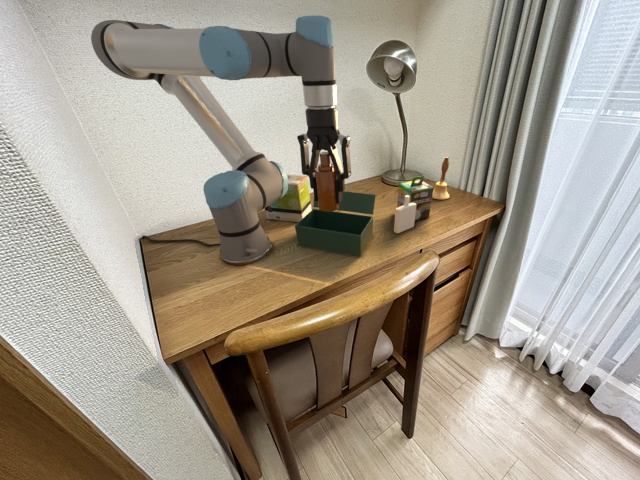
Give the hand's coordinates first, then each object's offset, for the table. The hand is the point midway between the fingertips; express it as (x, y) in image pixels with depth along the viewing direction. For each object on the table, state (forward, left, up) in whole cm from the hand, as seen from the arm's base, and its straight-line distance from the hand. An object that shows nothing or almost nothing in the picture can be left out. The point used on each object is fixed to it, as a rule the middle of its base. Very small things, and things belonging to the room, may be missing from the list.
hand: (328, 200), depth 75 cm
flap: (0, +10, -4) cm, 11 cm away
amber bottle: (0, 0, -2) cm, 2 cm away
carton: (0, +2, -15) cm, 15 cm away
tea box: (-24, +14, -15) cm, 32 cm away
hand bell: (+29, +49, -15) cm, 59 cm away
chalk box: (+21, +28, -15) cm, 38 cm away
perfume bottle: (+20, +16, -15) cm, 30 cm away
